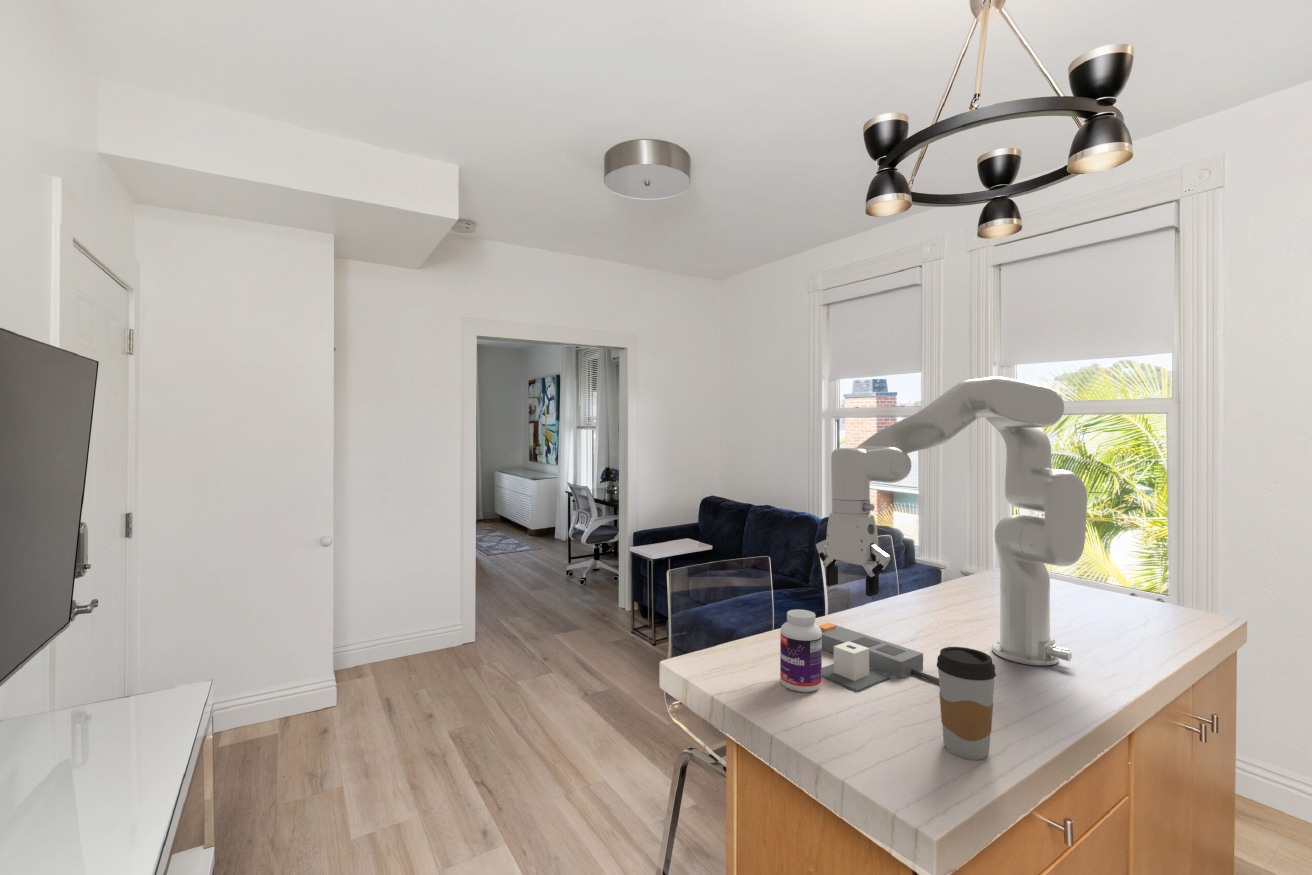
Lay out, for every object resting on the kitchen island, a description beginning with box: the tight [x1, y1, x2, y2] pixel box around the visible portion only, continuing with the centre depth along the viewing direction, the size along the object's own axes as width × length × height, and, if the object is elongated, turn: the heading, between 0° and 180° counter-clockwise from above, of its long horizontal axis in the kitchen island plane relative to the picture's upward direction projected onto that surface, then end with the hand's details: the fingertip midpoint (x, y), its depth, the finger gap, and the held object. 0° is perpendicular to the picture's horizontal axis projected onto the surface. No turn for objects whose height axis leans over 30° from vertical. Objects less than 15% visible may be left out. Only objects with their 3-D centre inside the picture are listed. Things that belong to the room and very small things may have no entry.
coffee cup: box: [936, 646, 997, 761], centre depth 91 cm, size 8×8×15 cm
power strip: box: [817, 622, 939, 684], centre depth 125 cm, size 36×8×4 cm, turn 35°
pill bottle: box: [779, 609, 823, 693], centre depth 115 cm, size 8×8×14 cm
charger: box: [833, 641, 870, 681], centre depth 119 cm, size 5×5×6 cm
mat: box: [822, 663, 892, 693], centre depth 119 cm, size 11×11×1 cm
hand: (851, 589), depth 119 cm, fingers open, 9 cm apart
